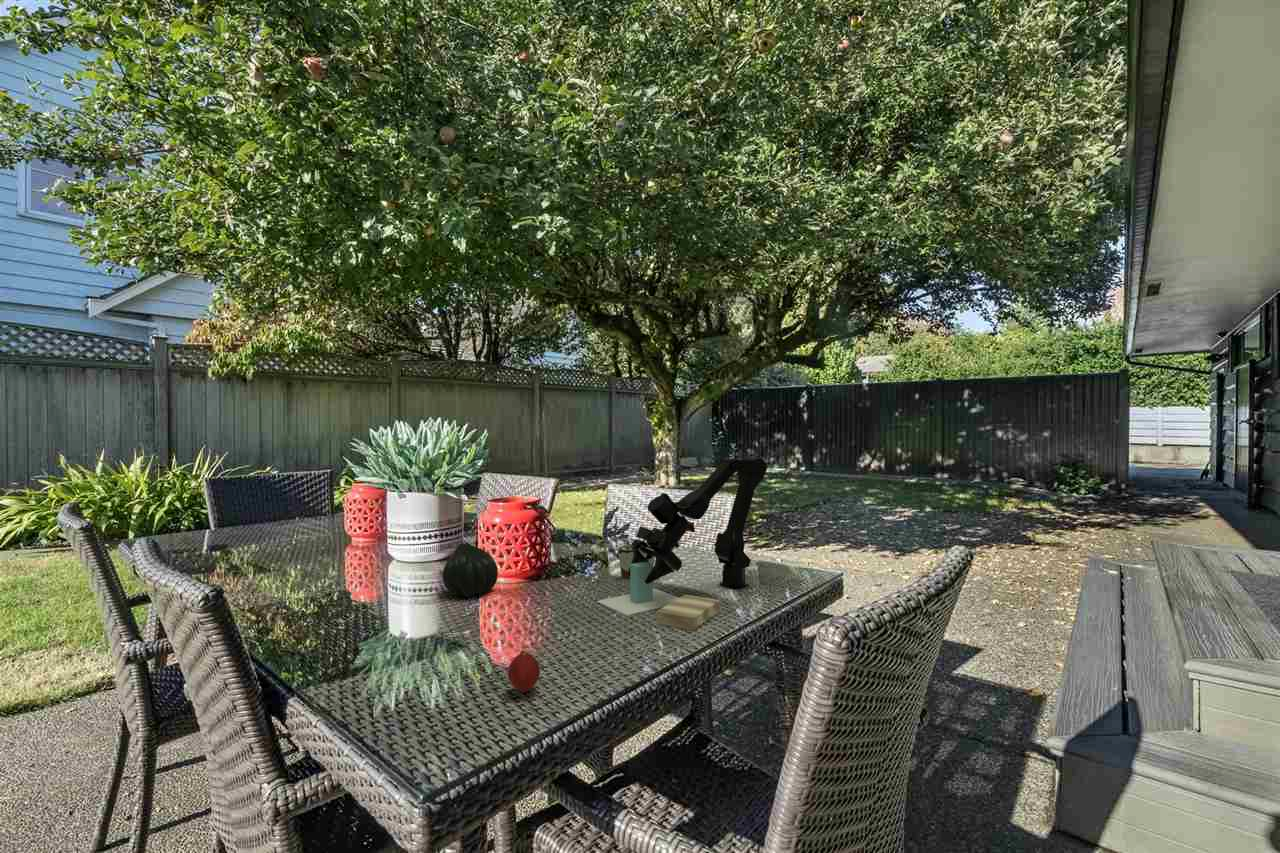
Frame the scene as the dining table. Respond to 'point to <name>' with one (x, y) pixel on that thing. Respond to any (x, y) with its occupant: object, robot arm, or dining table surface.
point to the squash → (469, 571)
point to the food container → (627, 560)
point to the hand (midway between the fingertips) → (637, 578)
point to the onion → (523, 671)
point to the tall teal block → (640, 583)
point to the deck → (688, 612)
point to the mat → (631, 608)
